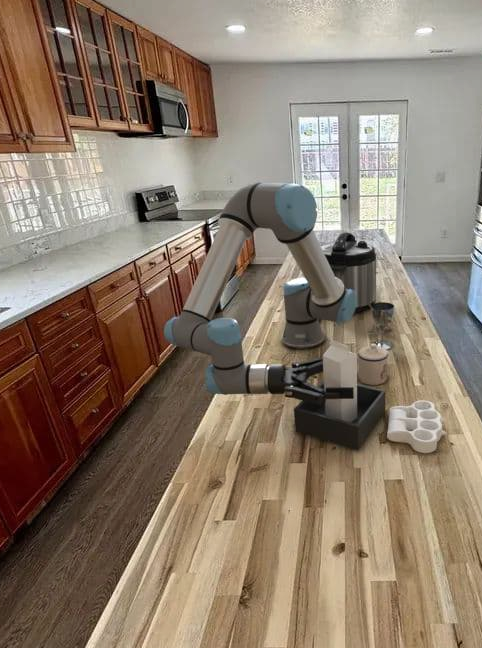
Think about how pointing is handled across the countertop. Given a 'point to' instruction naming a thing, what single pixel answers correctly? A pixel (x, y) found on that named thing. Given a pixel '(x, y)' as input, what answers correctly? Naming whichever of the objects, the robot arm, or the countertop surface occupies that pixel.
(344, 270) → the pressure cooker
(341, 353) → the milk
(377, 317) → the wine glass
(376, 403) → the tray
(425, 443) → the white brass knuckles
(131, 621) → the countertop surface
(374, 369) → the teacup with lid
